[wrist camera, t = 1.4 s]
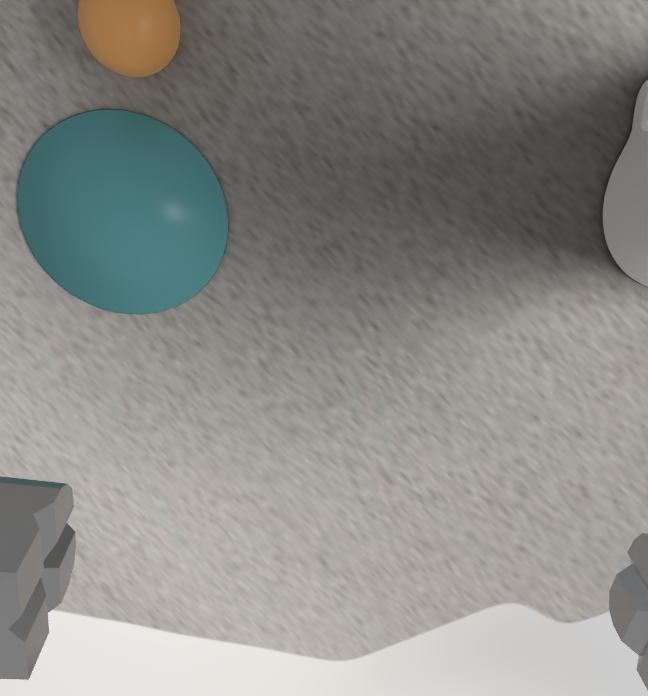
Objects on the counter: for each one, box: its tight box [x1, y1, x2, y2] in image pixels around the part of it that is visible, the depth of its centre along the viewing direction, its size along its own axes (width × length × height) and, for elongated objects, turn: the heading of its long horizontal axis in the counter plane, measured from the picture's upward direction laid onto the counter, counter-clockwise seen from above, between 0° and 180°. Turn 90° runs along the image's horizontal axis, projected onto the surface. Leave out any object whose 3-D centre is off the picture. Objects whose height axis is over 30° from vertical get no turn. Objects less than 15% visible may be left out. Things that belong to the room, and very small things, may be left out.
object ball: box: [78, 0, 181, 78], centre depth 34 cm, size 6×6×6 cm
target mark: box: [18, 110, 228, 314], centre depth 42 cm, size 14×14×1 cm
